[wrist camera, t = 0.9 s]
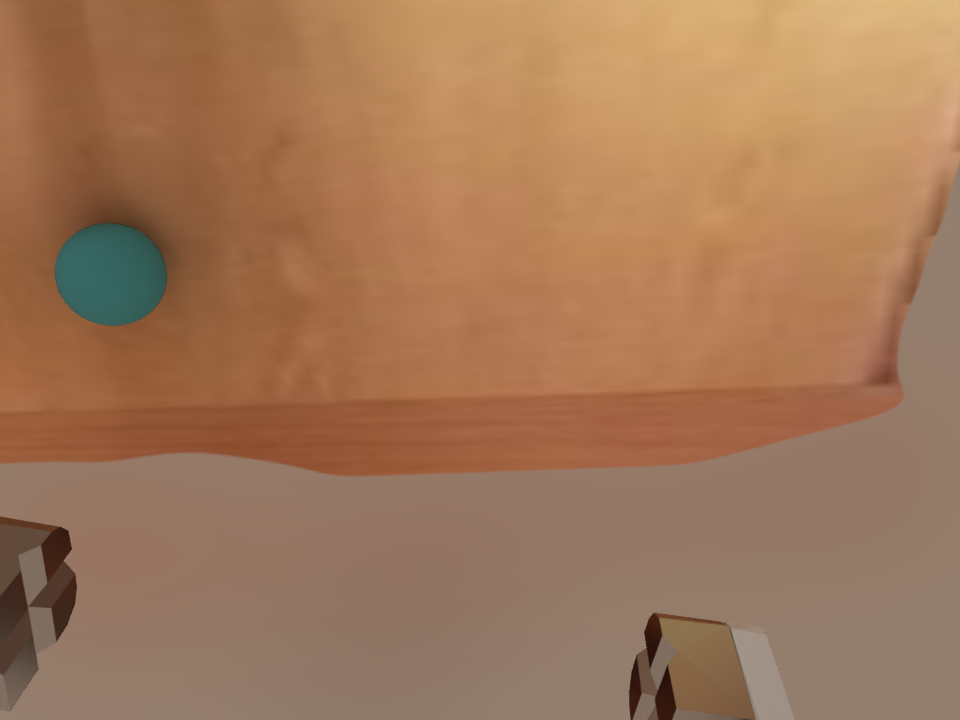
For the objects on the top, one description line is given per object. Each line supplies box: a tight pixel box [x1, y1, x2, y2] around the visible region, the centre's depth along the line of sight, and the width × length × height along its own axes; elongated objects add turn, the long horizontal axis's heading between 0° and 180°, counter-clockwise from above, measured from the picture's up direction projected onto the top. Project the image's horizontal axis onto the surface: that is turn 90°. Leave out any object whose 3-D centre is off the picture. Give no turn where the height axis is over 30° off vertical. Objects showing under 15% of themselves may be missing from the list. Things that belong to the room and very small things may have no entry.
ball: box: [55, 223, 167, 326], centre depth 47 cm, size 6×6×6 cm
